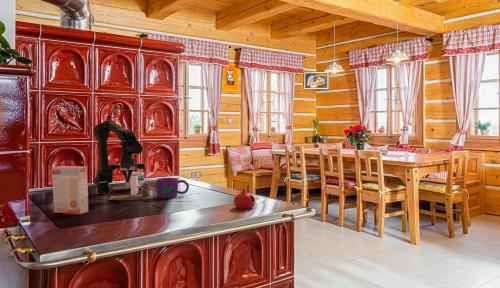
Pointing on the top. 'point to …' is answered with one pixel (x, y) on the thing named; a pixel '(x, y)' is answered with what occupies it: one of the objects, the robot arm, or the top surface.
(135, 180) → the tan rectangular block
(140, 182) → the light bulb box
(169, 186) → the mug
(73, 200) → the cracker box
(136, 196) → the rod stand
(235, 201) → the pomegranate
